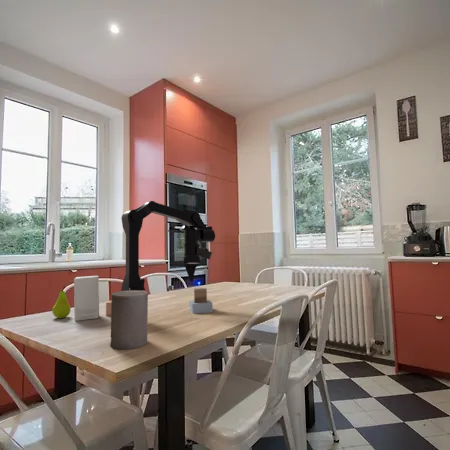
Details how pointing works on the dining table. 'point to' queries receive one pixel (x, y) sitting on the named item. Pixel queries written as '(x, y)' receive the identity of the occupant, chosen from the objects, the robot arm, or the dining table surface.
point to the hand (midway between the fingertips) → (191, 280)
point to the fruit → (61, 306)
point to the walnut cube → (200, 295)
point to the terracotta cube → (108, 308)
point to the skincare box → (86, 297)
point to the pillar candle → (129, 319)
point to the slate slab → (201, 307)
